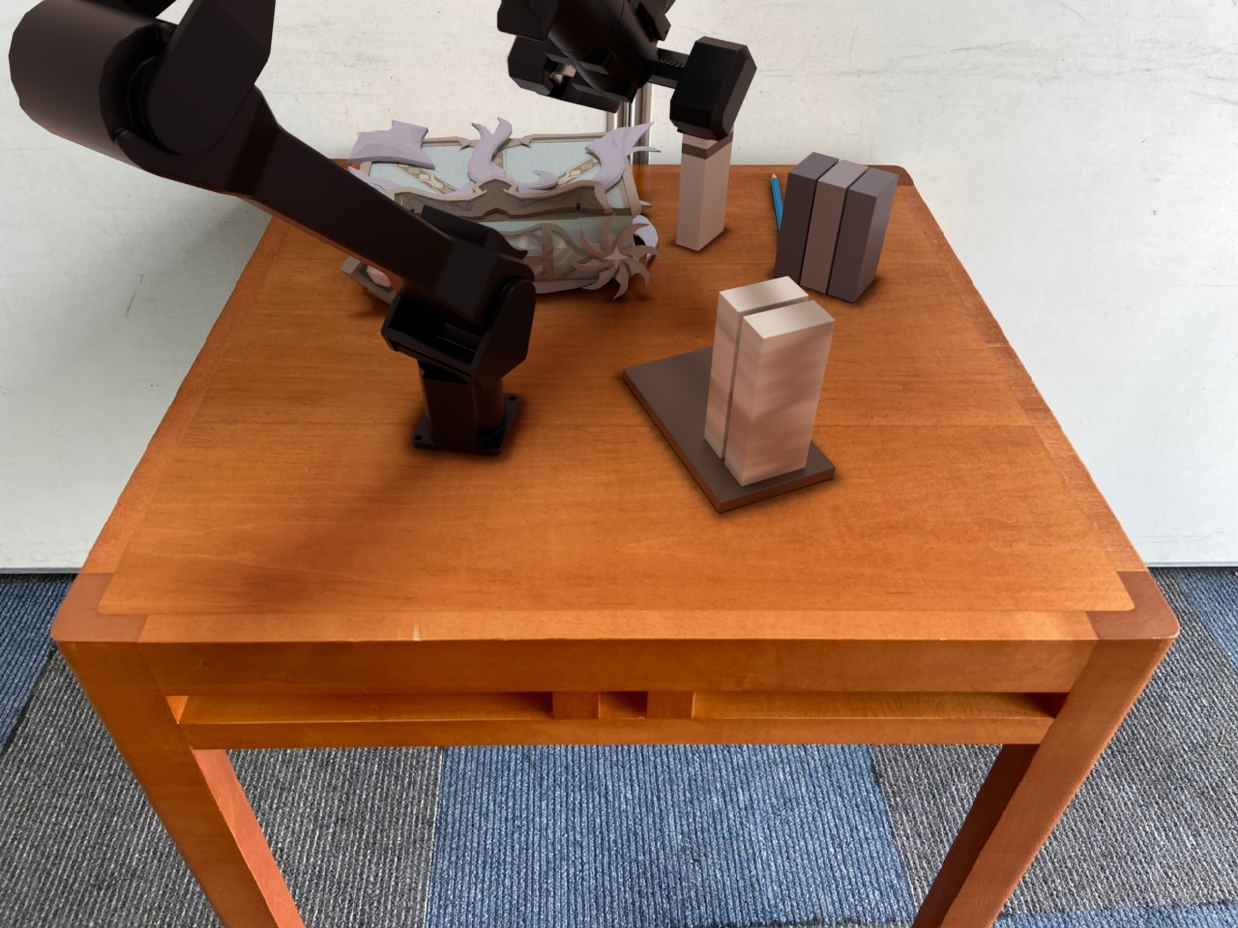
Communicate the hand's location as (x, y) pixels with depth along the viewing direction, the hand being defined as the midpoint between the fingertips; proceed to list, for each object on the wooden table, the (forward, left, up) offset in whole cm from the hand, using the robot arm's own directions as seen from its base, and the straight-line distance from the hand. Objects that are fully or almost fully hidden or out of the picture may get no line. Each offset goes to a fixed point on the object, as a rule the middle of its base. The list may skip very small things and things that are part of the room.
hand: (664, 120), depth 74 cm
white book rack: (-21, -7, -14) cm, 26 cm away
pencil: (+13, -11, -14) cm, 22 cm away
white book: (+7, -3, -14) cm, 16 cm away
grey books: (+1, -15, -14) cm, 21 cm away
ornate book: (+2, +14, -14) cm, 20 cm away
